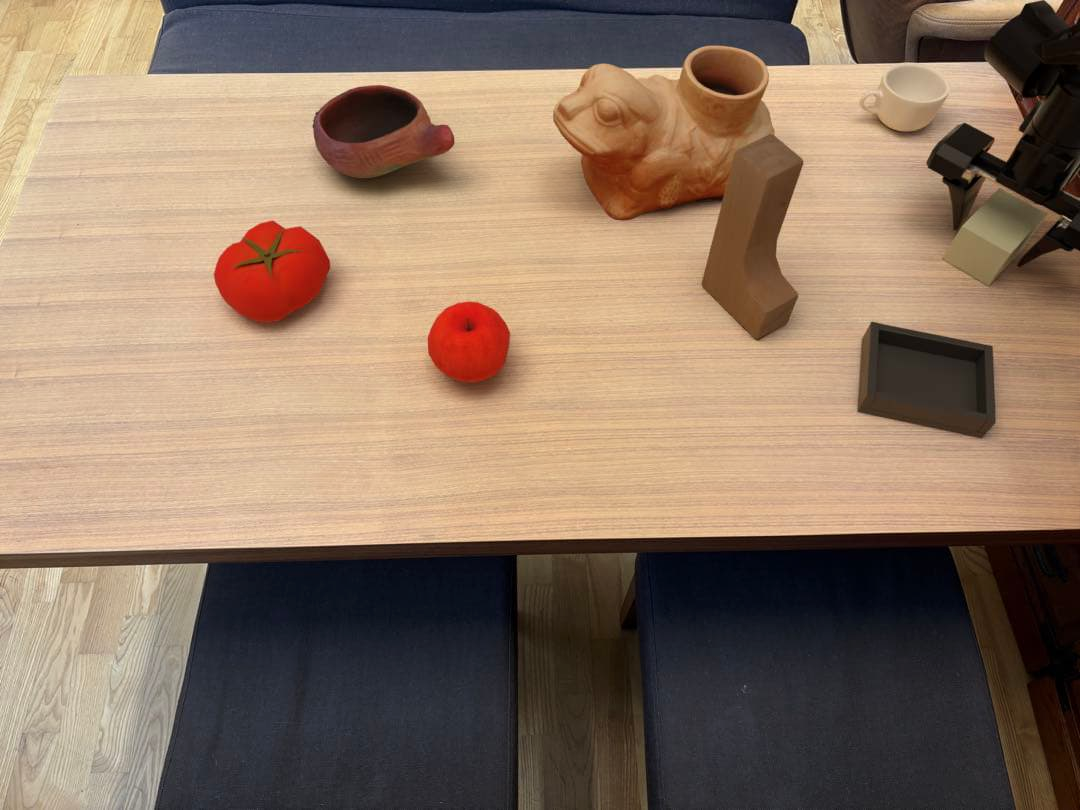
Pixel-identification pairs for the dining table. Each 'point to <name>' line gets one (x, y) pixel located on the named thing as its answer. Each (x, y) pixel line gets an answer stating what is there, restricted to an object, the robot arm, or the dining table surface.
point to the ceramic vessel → (665, 129)
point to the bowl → (377, 131)
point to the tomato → (271, 271)
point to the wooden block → (754, 237)
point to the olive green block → (994, 236)
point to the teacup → (908, 96)
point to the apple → (469, 342)
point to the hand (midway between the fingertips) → (987, 246)
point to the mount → (927, 380)
